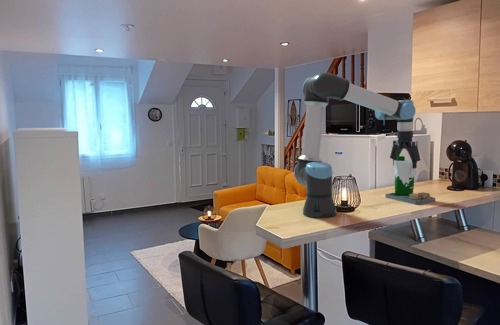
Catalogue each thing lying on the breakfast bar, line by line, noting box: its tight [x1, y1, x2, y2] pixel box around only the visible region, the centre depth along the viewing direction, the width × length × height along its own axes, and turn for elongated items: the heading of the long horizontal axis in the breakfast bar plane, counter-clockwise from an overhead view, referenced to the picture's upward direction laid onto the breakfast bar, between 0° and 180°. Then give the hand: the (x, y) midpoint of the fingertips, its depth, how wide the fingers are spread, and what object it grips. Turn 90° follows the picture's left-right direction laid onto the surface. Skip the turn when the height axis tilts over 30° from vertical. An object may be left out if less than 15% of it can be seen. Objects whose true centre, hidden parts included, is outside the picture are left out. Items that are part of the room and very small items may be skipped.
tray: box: [385, 192, 436, 206], centre depth 195 cm, size 13×20×2 cm, turn 25°
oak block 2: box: [417, 191, 431, 200], centre depth 190 cm, size 4×4×4 cm
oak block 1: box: [409, 192, 421, 201], centre depth 188 cm, size 4×4×4 cm
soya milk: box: [394, 155, 415, 197], centre depth 197 cm, size 9×9×20 cm
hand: (404, 173), depth 197 cm, fingers closed on soya milk, 10 cm apart
